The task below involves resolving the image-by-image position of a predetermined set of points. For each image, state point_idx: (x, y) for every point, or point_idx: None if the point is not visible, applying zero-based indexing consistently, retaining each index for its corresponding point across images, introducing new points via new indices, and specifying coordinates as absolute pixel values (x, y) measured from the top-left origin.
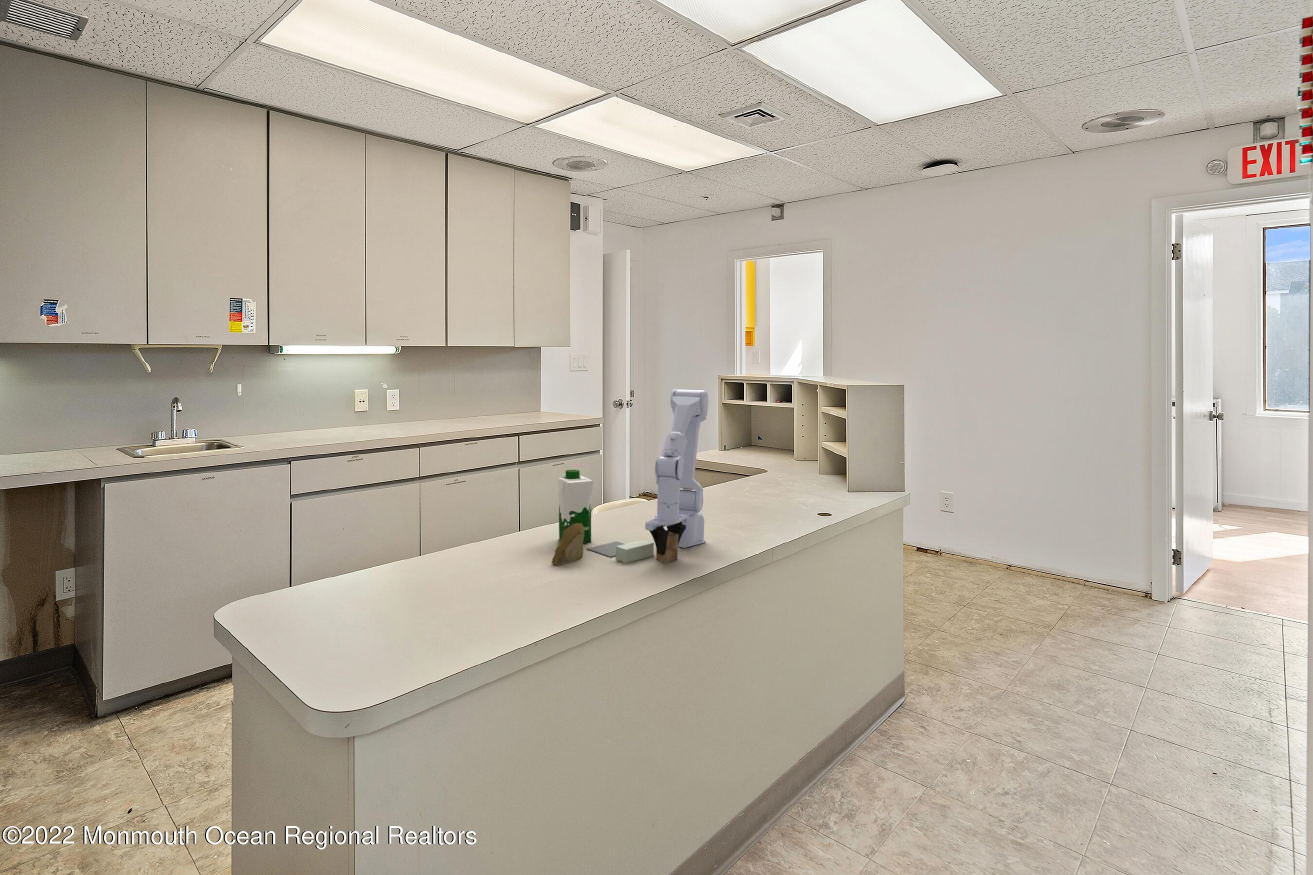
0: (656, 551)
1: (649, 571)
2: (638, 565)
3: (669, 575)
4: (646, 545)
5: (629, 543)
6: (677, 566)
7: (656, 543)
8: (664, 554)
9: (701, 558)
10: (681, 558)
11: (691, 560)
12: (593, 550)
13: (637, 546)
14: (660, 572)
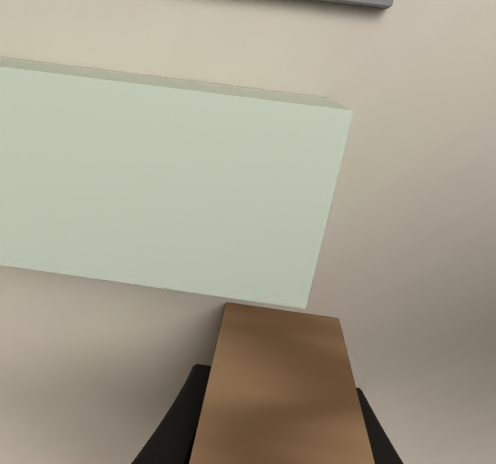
0: (215, 350)
1: (31, 382)
2: (37, 290)
3: (80, 458)
4: (182, 283)
5: (20, 91)
6: None
7: (157, 450)
8: None
9: (431, 461)
10: None
11: None
12: None
13: (40, 261)
14: (72, 420)
